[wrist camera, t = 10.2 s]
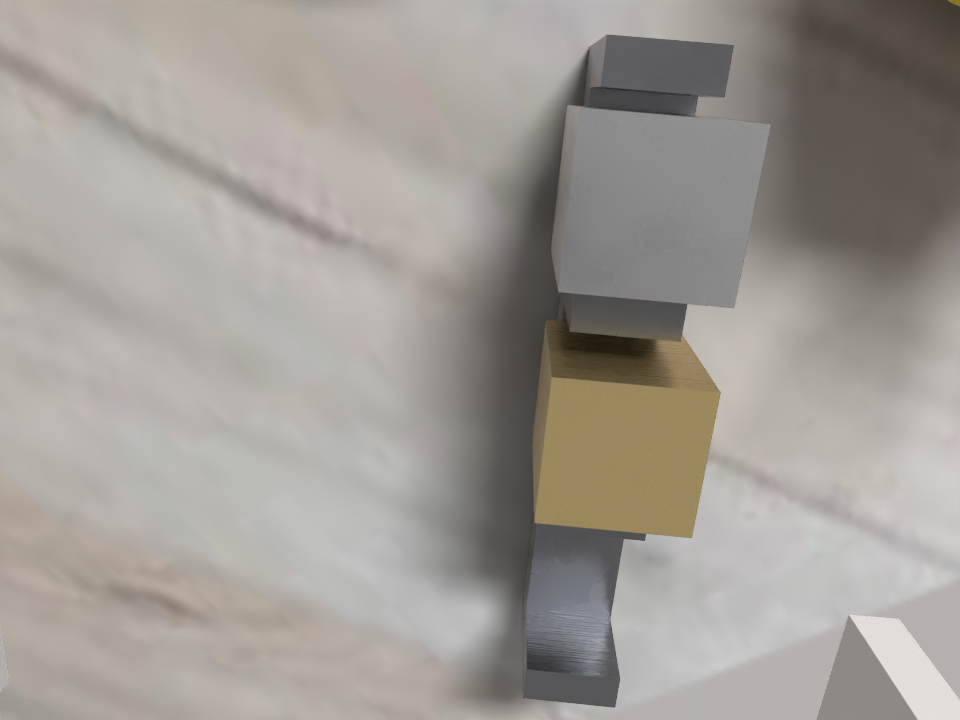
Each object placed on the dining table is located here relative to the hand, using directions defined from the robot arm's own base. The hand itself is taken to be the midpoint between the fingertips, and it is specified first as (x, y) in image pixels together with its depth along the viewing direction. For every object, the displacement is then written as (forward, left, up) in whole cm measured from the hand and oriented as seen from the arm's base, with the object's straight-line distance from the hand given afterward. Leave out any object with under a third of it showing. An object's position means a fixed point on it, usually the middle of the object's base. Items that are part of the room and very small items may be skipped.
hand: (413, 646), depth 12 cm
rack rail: (+5, -2, -20) cm, 21 cm away
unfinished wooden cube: (+5, -2, -18) cm, 18 cm away
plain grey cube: (+5, +5, -18) cm, 19 cm away
